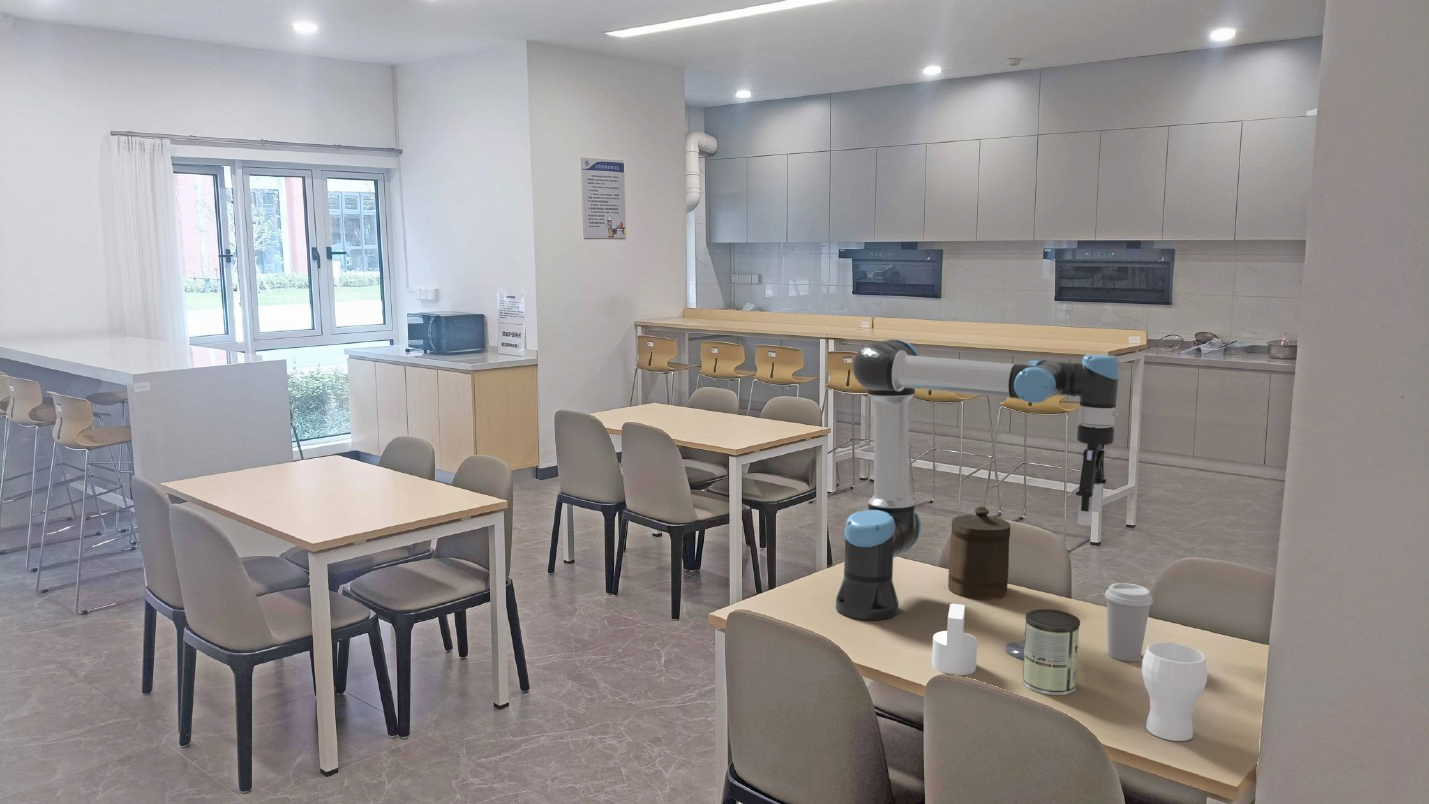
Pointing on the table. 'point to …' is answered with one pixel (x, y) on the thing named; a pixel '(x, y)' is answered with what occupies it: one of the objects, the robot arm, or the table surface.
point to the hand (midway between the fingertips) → (1089, 518)
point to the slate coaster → (1016, 649)
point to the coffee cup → (1127, 620)
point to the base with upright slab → (954, 645)
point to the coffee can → (1050, 651)
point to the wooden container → (979, 556)
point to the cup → (1173, 688)
